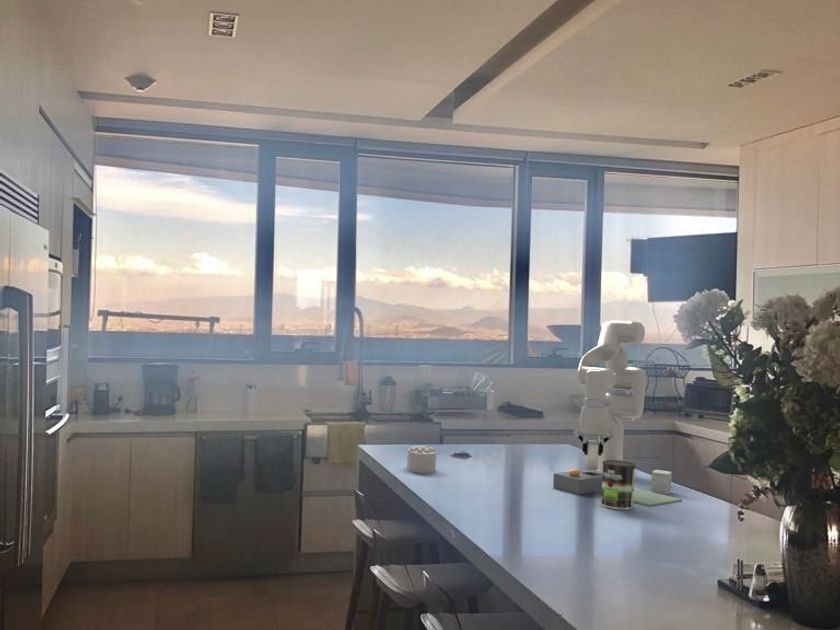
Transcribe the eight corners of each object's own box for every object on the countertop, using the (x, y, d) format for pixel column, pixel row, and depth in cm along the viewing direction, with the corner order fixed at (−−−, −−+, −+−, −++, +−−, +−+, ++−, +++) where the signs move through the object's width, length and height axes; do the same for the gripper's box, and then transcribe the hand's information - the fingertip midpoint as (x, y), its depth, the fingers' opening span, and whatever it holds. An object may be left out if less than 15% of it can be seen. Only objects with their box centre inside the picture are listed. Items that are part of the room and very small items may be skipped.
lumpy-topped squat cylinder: (431, 467, 321) (432, 444, 321) (438, 473, 308) (439, 450, 308) (405, 466, 319) (406, 444, 319) (410, 473, 306) (412, 449, 306)
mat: (638, 490, 295) (638, 488, 295) (682, 501, 281) (682, 499, 281) (605, 495, 284) (605, 493, 284) (649, 506, 270) (649, 504, 270)
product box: (650, 492, 293) (651, 471, 293) (653, 489, 299) (654, 469, 299) (668, 494, 290) (669, 473, 290) (671, 491, 296) (672, 471, 296)
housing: (587, 483, 303) (587, 469, 303) (613, 489, 294) (613, 475, 294) (553, 487, 293) (553, 473, 293) (578, 494, 283) (579, 479, 283)
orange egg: (573, 485, 293) (574, 468, 293) (581, 487, 290) (581, 470, 290) (566, 486, 291) (567, 469, 291) (574, 488, 288) (574, 471, 288)
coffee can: (623, 511, 260) (625, 466, 260) (594, 505, 267) (596, 461, 267) (639, 507, 268) (641, 463, 268) (610, 501, 275) (613, 458, 275)
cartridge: (585, 467, 299) (586, 439, 298) (597, 468, 298) (599, 440, 298) (586, 469, 294) (587, 441, 294) (598, 470, 294) (599, 442, 294)
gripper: (617, 404, 298) (615, 454, 299) (570, 401, 301) (568, 451, 301) (620, 406, 291) (617, 458, 291) (571, 403, 293) (569, 454, 293)
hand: (592, 454), depth 296 cm, fingers closed on cartridge, 4 cm apart
